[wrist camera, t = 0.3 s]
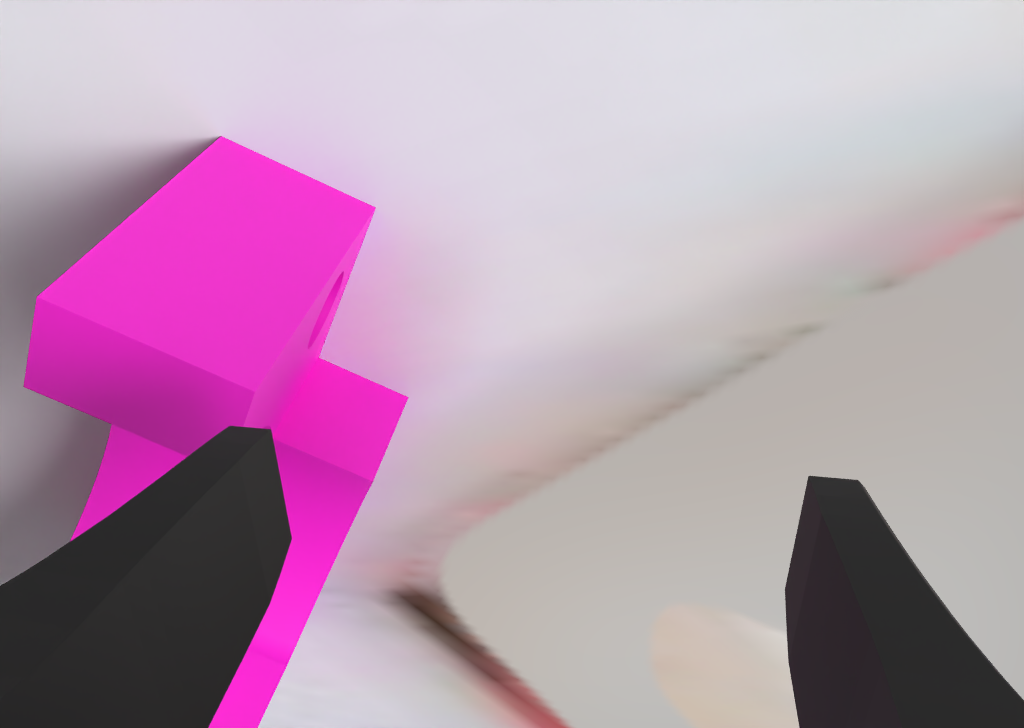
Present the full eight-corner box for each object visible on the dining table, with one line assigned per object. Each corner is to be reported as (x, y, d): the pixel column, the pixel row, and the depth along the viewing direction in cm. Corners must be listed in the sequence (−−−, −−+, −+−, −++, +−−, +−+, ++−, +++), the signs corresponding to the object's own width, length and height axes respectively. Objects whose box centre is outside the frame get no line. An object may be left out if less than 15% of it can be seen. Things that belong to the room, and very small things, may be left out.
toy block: (302, 621, 30) (204, 848, 24) (117, 545, 30) (-32, 758, 24) (477, 250, 22) (394, 453, 16) (224, 132, 21) (36, 296, 15)
